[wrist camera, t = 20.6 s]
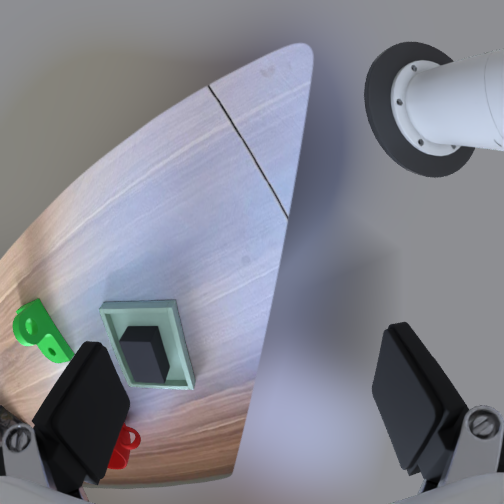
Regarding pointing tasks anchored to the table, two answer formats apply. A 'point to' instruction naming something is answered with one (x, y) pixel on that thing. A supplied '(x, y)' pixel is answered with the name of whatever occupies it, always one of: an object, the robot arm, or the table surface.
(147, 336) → the black block
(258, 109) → the table surface
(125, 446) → the ceramic cup
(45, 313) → the mechanical part
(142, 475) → the table surface
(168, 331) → the mount tray
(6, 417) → the grey patterned box
